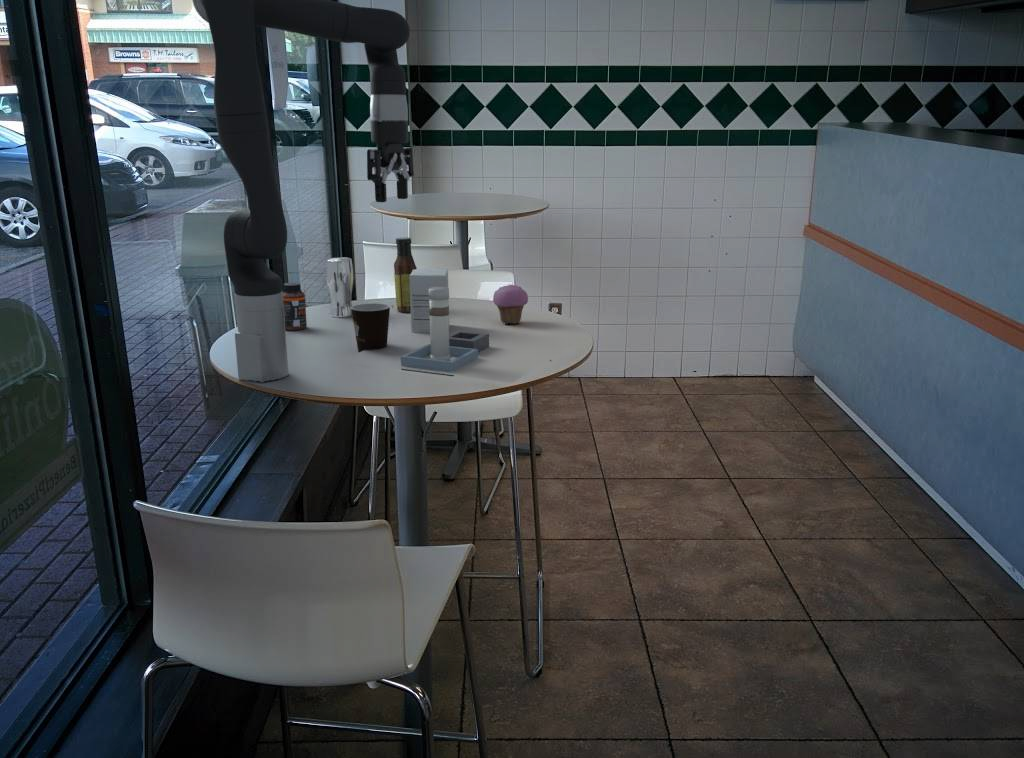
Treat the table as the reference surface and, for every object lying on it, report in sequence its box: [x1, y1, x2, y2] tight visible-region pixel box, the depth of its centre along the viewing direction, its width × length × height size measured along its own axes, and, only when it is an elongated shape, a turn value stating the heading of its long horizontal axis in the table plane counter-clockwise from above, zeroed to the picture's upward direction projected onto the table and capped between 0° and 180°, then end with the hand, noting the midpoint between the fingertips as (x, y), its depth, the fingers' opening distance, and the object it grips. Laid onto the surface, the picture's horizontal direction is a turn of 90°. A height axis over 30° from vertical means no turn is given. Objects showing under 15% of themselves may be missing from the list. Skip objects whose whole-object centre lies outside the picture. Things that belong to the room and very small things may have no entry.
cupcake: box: [492, 284, 529, 325], centre depth 227 cm, size 9×9×10 cm
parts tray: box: [400, 343, 479, 377], centre depth 188 cm, size 12×12×3 cm
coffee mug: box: [351, 302, 391, 353], centre depth 201 cm, size 12×9×10 cm
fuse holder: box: [449, 330, 490, 353], centre depth 198 cm, size 8×10×4 cm
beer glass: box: [325, 257, 354, 318], centre depth 236 cm, size 7×7×15 cm
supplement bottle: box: [283, 282, 308, 331], centre depth 221 cm, size 6×6×11 cm
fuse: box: [429, 287, 451, 361], centre depth 186 cm, size 4×4×16 cm
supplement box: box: [410, 268, 449, 334], centre depth 217 cm, size 9×9×15 cm
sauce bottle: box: [393, 236, 418, 313], centre depth 240 cm, size 7×6×20 cm
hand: (392, 200), depth 184 cm, fingers open, 8 cm apart
